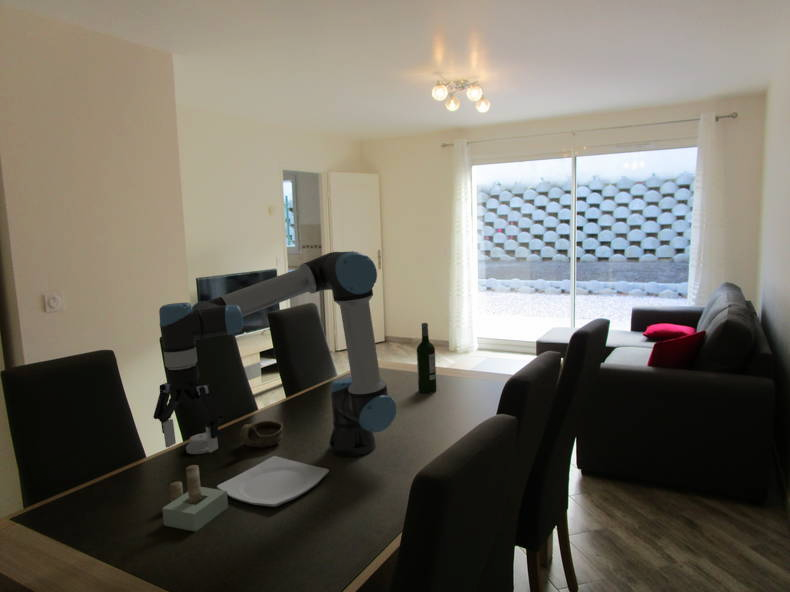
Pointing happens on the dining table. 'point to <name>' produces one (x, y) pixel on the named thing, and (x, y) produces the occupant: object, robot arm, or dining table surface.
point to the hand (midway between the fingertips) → (191, 447)
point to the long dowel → (193, 484)
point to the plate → (273, 482)
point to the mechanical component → (197, 444)
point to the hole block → (195, 510)
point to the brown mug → (262, 433)
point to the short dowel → (176, 490)
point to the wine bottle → (426, 363)
